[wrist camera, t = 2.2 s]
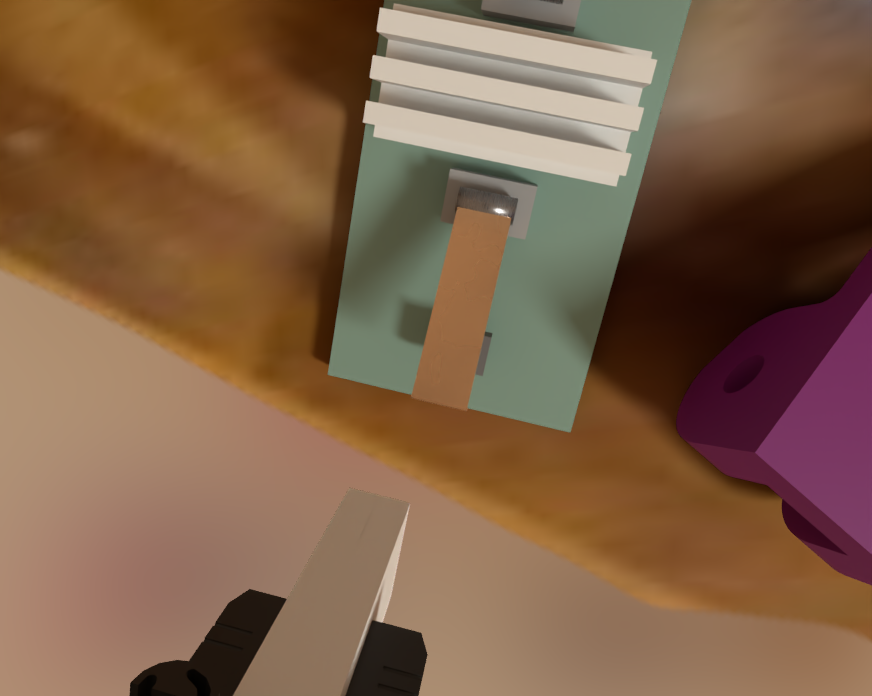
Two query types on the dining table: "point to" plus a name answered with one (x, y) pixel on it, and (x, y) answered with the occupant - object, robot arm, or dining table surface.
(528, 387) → the board
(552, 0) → the strap
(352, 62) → the dining table surface
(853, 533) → the mounting bracket
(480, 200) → the strap
